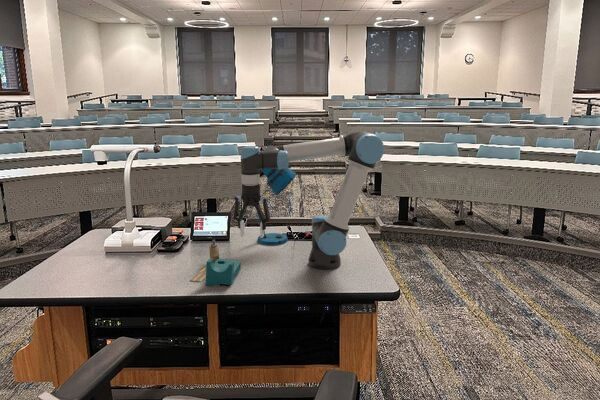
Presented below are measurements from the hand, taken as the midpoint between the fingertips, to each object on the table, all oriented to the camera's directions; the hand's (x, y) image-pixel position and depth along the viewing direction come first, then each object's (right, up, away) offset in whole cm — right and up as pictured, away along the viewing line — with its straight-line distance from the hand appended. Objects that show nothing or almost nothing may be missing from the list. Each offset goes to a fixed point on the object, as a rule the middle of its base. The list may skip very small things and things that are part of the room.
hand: (252, 236), depth 205 cm
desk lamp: (+8, -7, +56) cm, 57 cm away
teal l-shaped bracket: (-13, -19, +6) cm, 24 cm away
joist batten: (-23, -18, +9) cm, 30 cm away
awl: (-20, -14, +24) cm, 34 cm away
